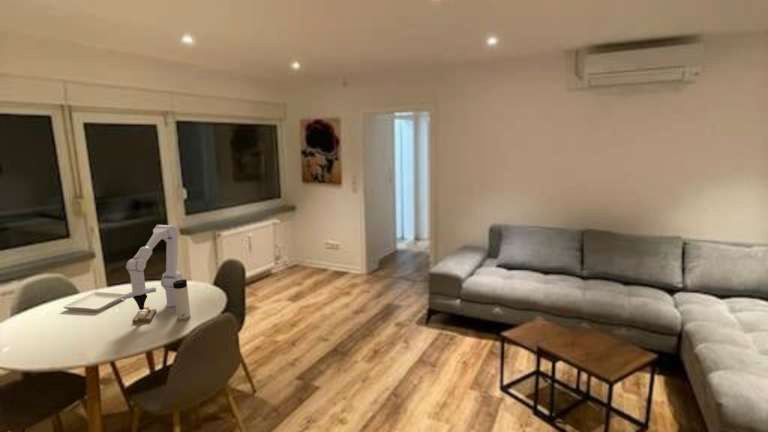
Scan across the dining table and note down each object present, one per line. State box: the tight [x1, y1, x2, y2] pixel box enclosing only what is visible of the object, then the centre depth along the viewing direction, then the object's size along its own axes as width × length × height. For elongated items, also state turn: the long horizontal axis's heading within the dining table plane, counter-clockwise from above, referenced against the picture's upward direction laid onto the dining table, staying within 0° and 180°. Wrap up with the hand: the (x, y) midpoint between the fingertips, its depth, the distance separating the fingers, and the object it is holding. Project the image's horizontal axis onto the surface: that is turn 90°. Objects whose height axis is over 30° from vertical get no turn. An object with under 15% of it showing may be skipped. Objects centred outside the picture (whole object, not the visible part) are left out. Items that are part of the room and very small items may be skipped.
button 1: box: [139, 312, 147, 319], centre depth 212 cm, size 3×3×3 cm
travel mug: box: [173, 278, 191, 322], centre depth 214 cm, size 6×7×20 cm
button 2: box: [143, 306, 151, 314], centre depth 219 cm, size 3×3×3 cm
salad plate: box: [62, 291, 126, 312], centre depth 234 cm, size 21×21×3 cm
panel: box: [132, 308, 157, 325], centre depth 216 cm, size 8×12×2 cm, turn 16°
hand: (141, 309), depth 211 cm, fingers closed
